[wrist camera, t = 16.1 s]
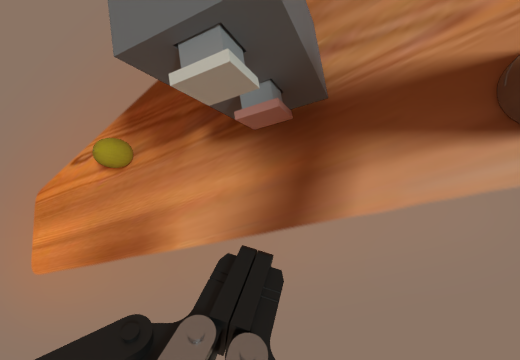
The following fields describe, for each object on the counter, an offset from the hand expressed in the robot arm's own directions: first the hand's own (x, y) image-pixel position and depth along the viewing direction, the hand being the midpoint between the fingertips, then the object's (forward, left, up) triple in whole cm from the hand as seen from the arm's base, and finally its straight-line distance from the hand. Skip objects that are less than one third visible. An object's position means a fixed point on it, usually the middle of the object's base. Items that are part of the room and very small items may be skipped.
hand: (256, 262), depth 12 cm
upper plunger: (+15, -11, -11) cm, 21 cm away
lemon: (+39, +11, -28) cm, 49 cm away
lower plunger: (+15, -11, -22) cm, 28 cm away
